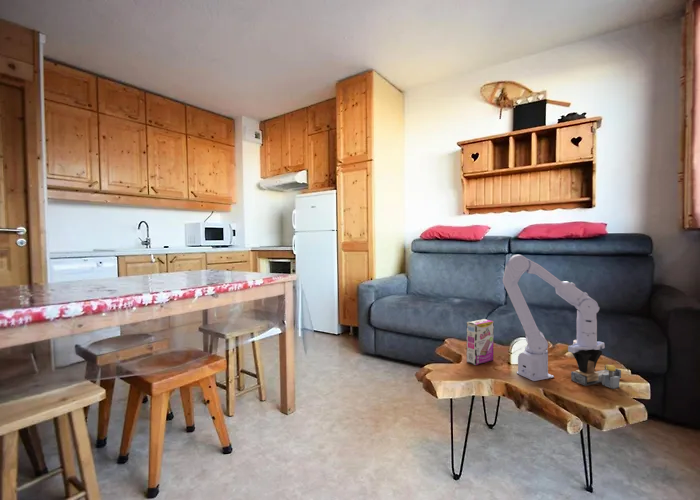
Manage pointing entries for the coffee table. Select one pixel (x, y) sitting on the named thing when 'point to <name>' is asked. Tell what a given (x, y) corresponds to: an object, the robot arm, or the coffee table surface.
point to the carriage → (589, 372)
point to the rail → (583, 380)
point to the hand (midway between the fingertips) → (586, 370)
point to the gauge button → (610, 370)
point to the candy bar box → (480, 341)
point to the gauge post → (610, 381)
